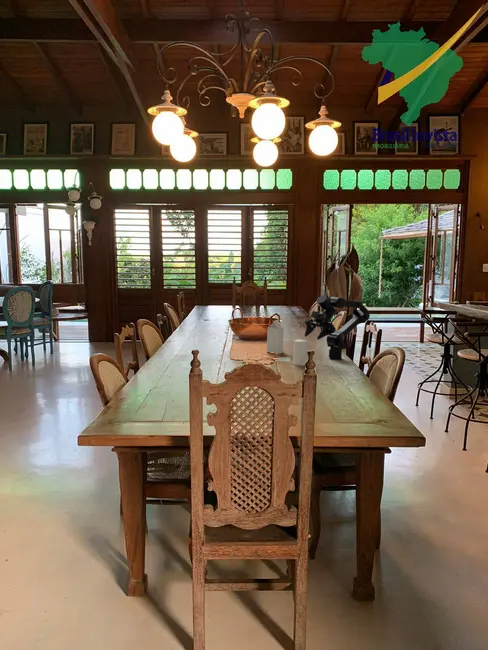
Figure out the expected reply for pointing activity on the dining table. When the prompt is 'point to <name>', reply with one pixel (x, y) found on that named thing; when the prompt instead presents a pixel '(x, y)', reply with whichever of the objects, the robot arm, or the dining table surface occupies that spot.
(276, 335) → the milk carton
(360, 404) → the dining table surface
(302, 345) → the white cylinder
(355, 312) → the robot arm
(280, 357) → the mat
